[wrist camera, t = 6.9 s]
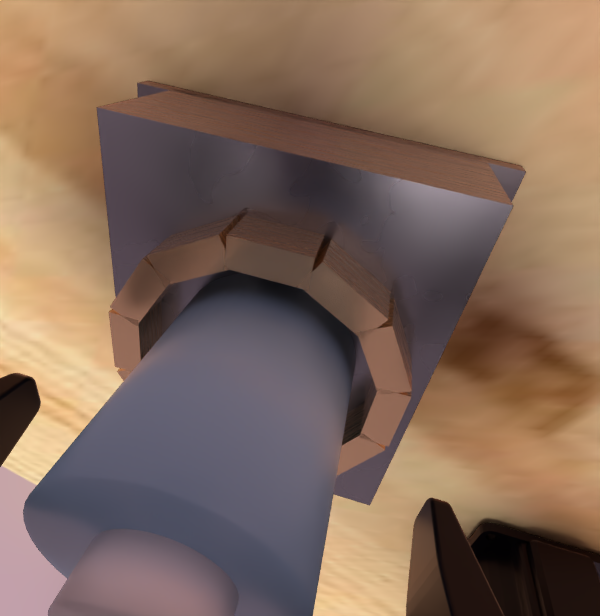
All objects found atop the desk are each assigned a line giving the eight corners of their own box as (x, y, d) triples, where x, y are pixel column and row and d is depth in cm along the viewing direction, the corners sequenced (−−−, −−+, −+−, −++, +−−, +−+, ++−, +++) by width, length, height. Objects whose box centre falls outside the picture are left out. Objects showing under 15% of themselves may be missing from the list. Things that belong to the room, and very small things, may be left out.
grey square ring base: (400, 425, 18) (397, 548, 14) (157, 355, 19) (82, 450, 14) (521, 165, 12) (584, 242, 7) (148, 81, 13) (12, 104, 8)
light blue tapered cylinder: (334, 433, 13) (273, 745, 7) (182, 389, 14) (14, 650, 8) (377, 301, 10) (332, 642, 4) (183, 251, 11) (-81, 502, 5)
